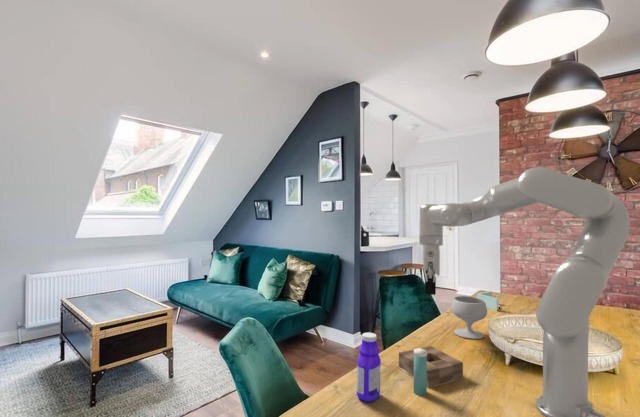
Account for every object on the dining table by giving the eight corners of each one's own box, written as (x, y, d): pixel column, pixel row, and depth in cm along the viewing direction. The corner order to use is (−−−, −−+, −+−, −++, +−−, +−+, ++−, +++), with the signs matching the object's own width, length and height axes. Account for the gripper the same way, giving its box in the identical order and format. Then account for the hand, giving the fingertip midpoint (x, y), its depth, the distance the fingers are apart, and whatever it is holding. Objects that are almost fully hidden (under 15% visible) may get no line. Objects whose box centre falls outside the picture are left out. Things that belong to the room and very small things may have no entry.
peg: (429, 394, 96) (429, 352, 96) (419, 396, 94) (419, 354, 94) (420, 387, 99) (420, 347, 99) (410, 390, 98) (411, 349, 98)
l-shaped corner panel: (496, 312, 177) (497, 298, 177) (476, 306, 188) (476, 293, 188) (510, 309, 183) (510, 296, 183) (489, 304, 194) (490, 291, 194)
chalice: (464, 326, 153) (464, 294, 153) (493, 336, 141) (494, 301, 141) (444, 332, 145) (444, 298, 146) (474, 343, 134) (474, 305, 134)
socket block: (463, 378, 105) (463, 362, 105) (428, 388, 99) (428, 371, 99) (431, 359, 118) (431, 345, 118) (397, 367, 112) (398, 352, 112)
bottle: (366, 388, 99) (367, 329, 99) (383, 394, 95) (384, 333, 95) (352, 398, 93) (353, 335, 93) (370, 406, 90) (371, 341, 90)
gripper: (443, 243, 104) (442, 298, 104) (442, 239, 120) (441, 286, 120) (418, 242, 106) (417, 295, 106) (420, 238, 123) (420, 284, 123)
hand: (430, 290), depth 113 cm, fingers open, 9 cm apart
